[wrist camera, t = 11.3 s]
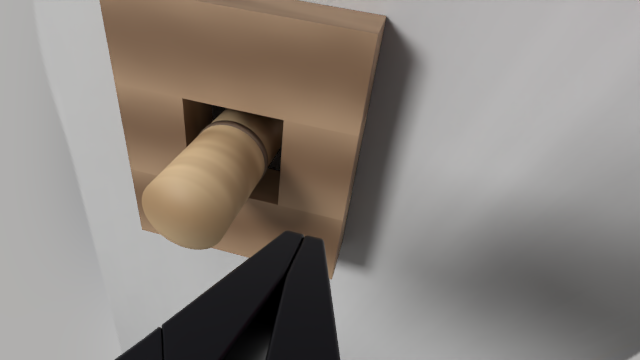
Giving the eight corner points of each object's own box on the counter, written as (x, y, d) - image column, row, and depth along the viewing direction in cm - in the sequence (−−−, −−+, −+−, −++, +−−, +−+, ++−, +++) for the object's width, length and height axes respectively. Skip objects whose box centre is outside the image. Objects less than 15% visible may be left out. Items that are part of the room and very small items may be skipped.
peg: (284, 162, 24) (227, 259, 18) (224, 148, 24) (146, 237, 18) (288, 103, 22) (225, 189, 15) (222, 89, 22) (134, 167, 16)
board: (341, 244, 26) (331, 279, 24) (167, 200, 28) (142, 229, 26) (386, 16, 18) (378, 34, 16) (138, -28, 20) (96, -18, 17)
